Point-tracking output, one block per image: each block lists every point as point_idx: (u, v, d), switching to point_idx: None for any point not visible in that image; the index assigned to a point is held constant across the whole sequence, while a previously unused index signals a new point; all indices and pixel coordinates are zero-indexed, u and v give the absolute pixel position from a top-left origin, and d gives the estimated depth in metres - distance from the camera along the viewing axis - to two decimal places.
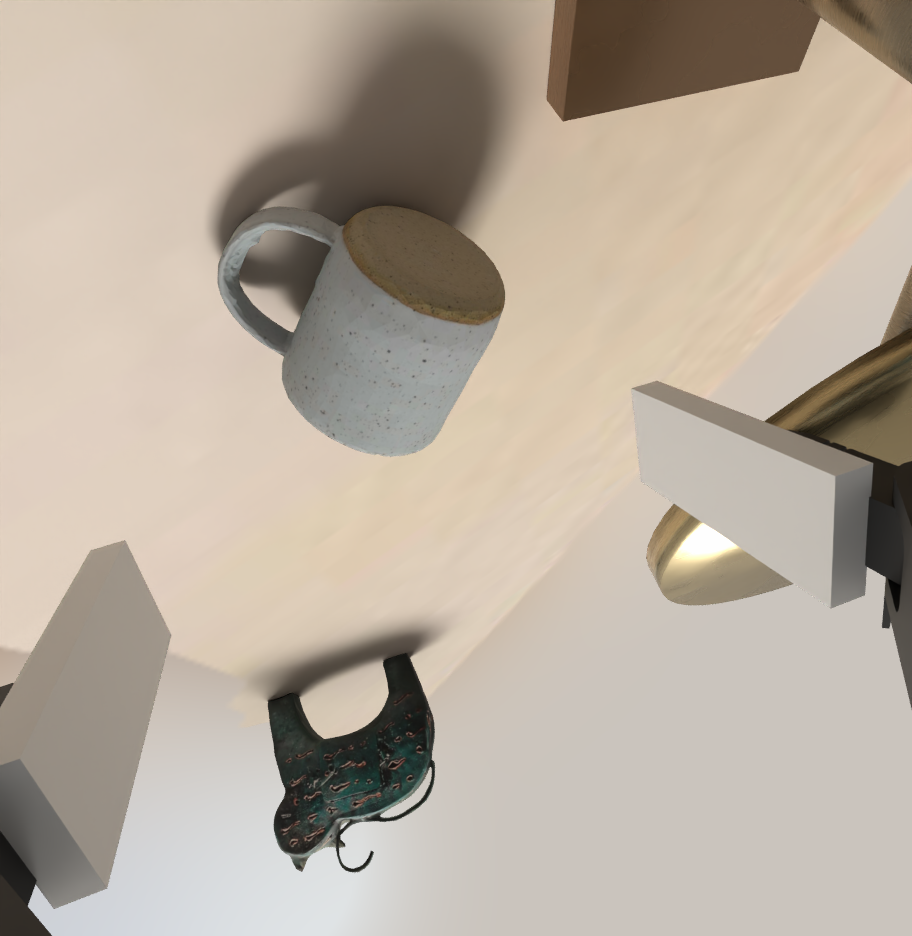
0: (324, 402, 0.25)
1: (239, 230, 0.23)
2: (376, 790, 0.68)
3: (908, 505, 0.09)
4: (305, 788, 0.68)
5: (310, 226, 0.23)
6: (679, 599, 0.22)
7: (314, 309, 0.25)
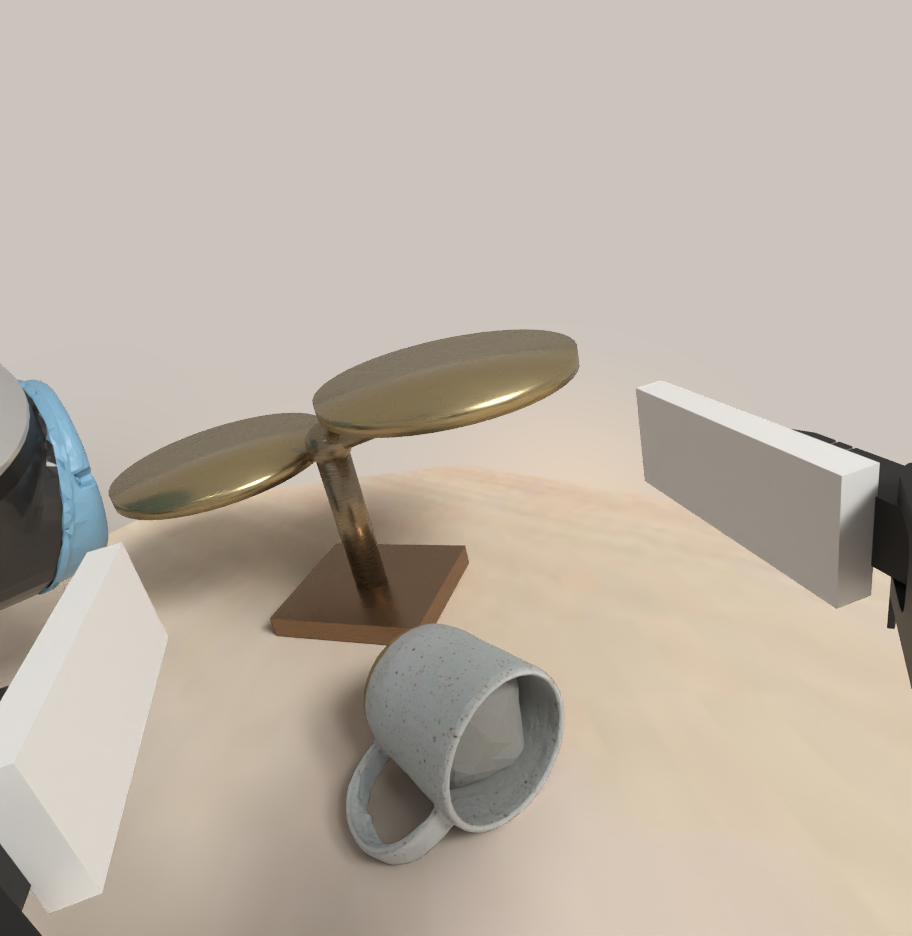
0: (427, 736, 0.27)
1: (347, 816, 0.30)
2: None
3: None
4: None
5: (363, 758, 0.32)
6: (481, 400, 0.31)
7: (397, 758, 0.30)
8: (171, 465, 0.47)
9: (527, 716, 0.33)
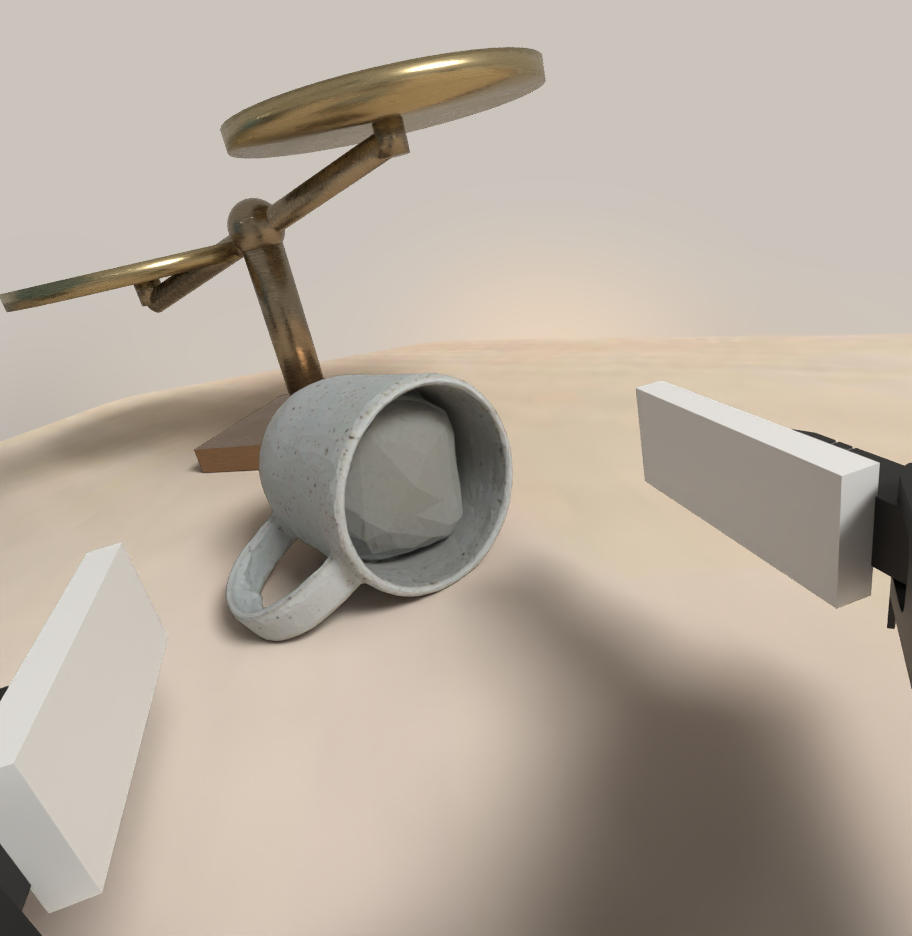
0: (319, 453, 0.20)
1: None
2: None
3: None
4: None
5: (258, 535, 0.25)
6: None
7: (291, 513, 0.23)
8: None
9: (469, 485, 0.25)
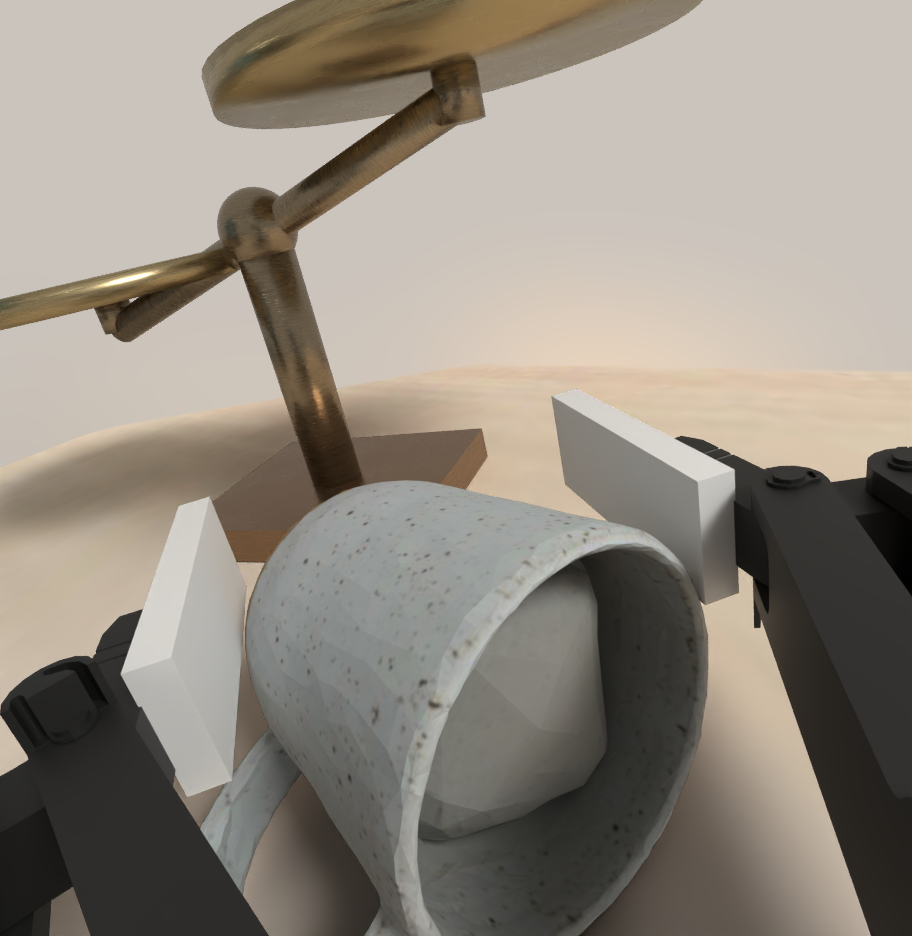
0: (358, 708, 0.10)
1: None
2: None
3: (767, 512, 0.10)
4: None
5: (243, 765, 0.14)
6: None
7: (301, 767, 0.12)
8: None
9: (611, 676, 0.15)
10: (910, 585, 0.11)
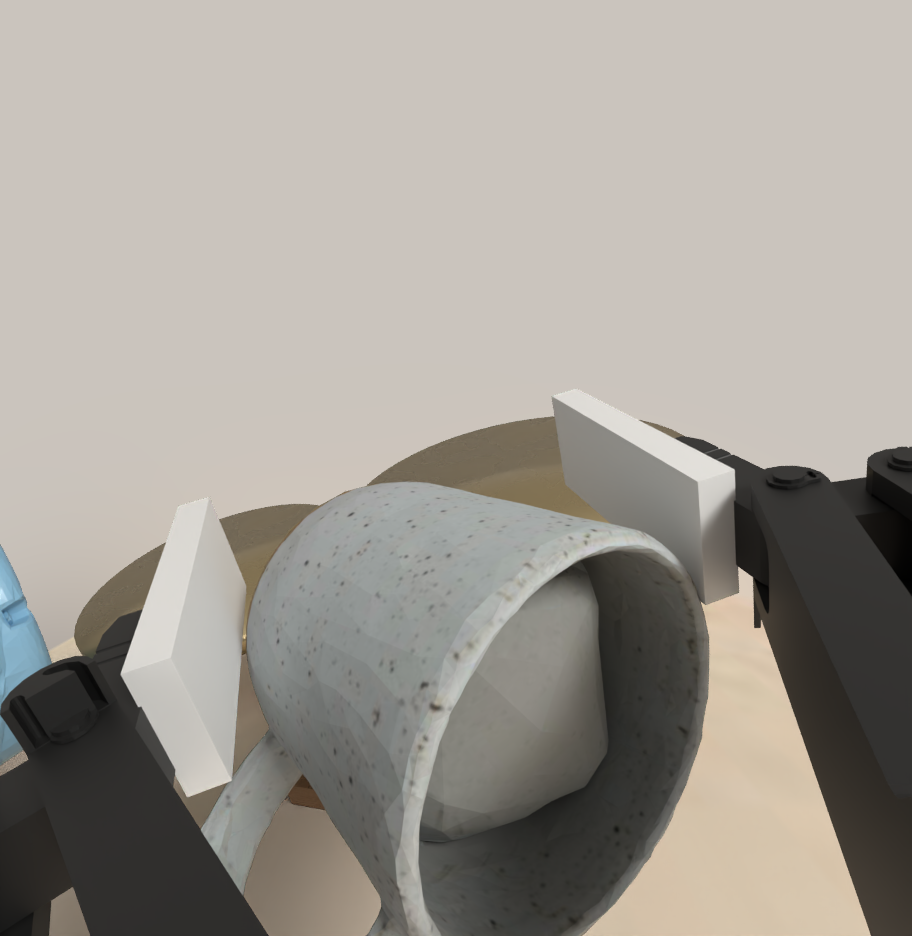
0: (359, 710, 0.10)
1: None
2: None
3: (767, 513, 0.10)
4: None
5: (244, 767, 0.14)
6: None
7: (302, 769, 0.12)
8: None
9: (611, 677, 0.15)
10: (910, 585, 0.11)
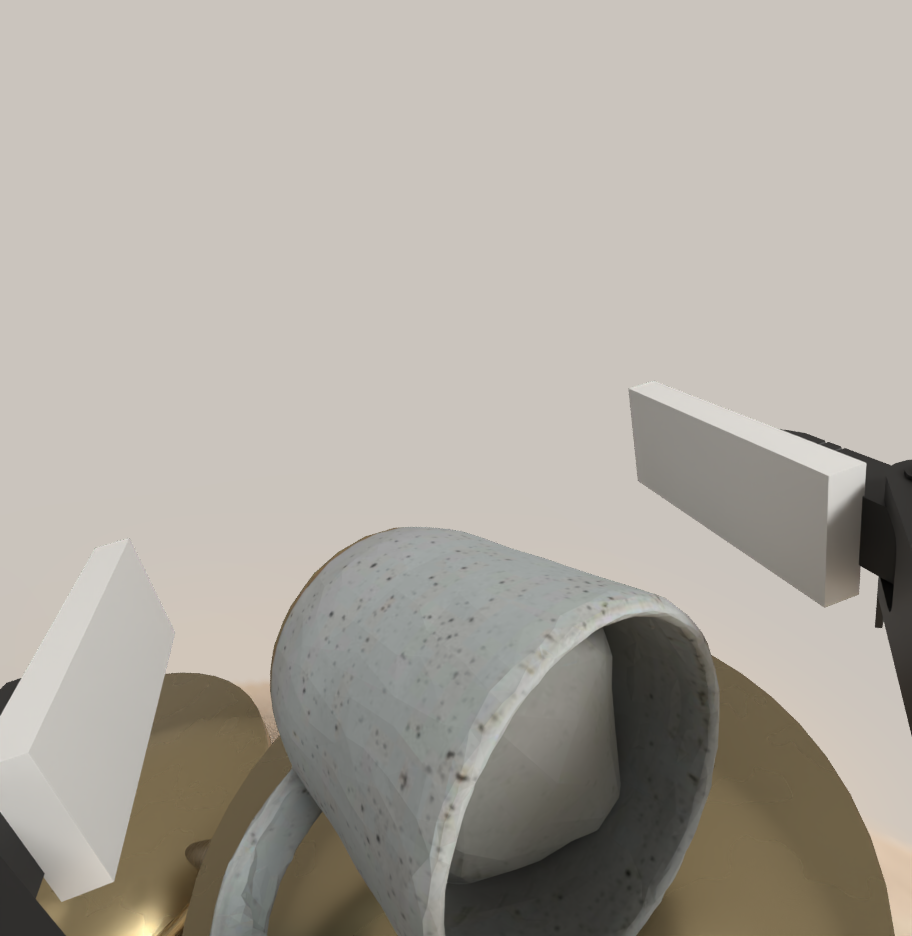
0: (387, 771, 0.10)
1: None
2: None
3: (900, 505, 0.10)
4: None
5: (268, 804, 0.15)
6: None
7: (327, 814, 0.13)
8: None
9: (623, 721, 0.15)
10: None
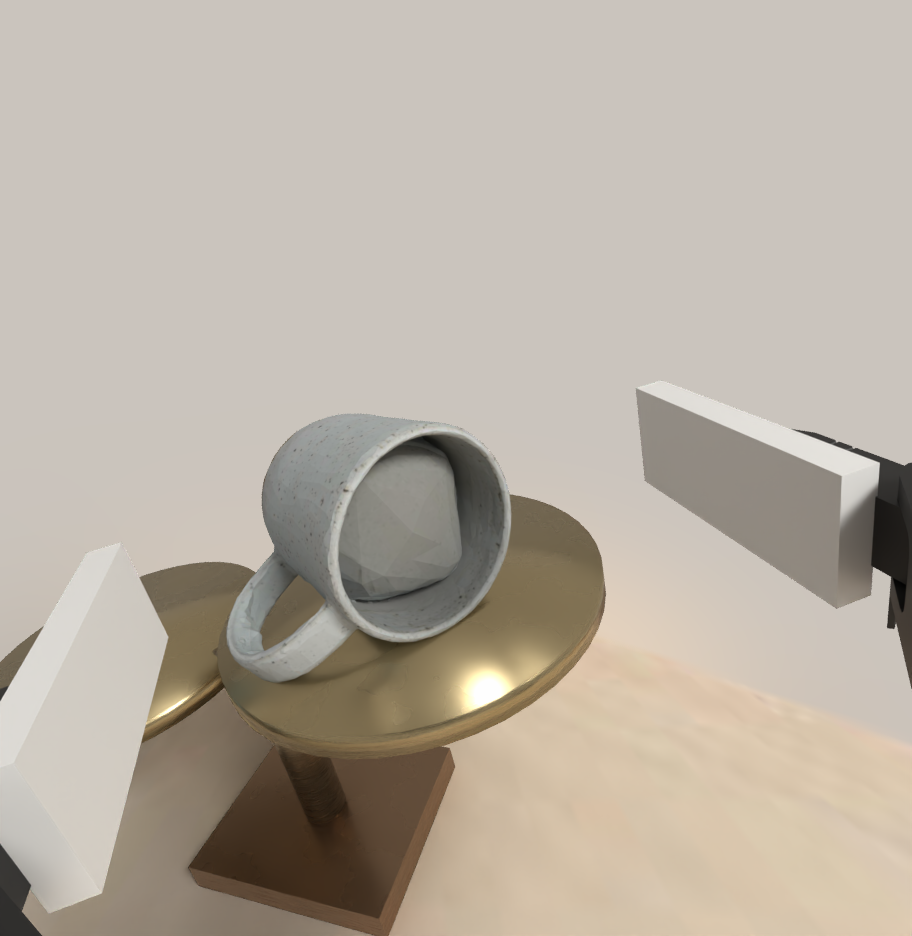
0: (315, 502, 0.21)
1: None
2: None
3: None
4: None
5: (260, 571, 0.25)
6: (456, 709, 0.19)
7: (291, 555, 0.23)
8: None
9: (469, 525, 0.26)
10: None
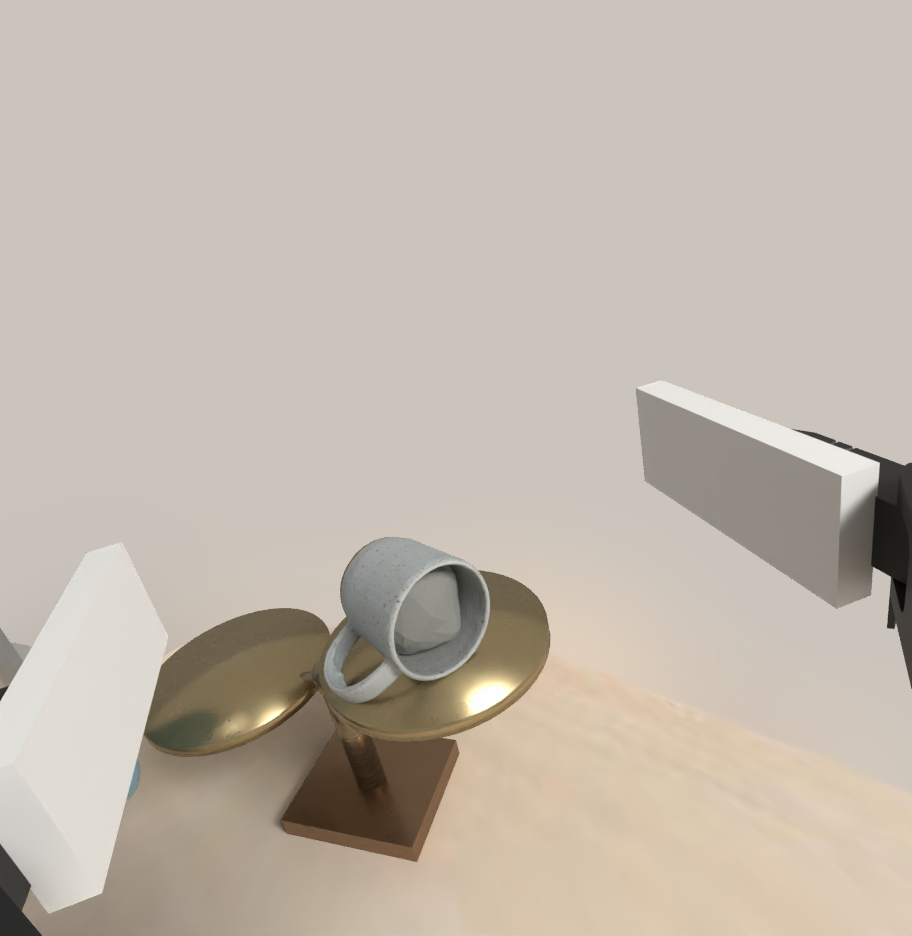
0: (380, 604, 0.37)
1: None
2: None
3: None
4: None
5: (339, 634, 0.42)
6: (463, 714, 0.36)
7: (361, 629, 0.40)
8: (191, 679, 0.53)
9: (465, 606, 0.42)
10: None
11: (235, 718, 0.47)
